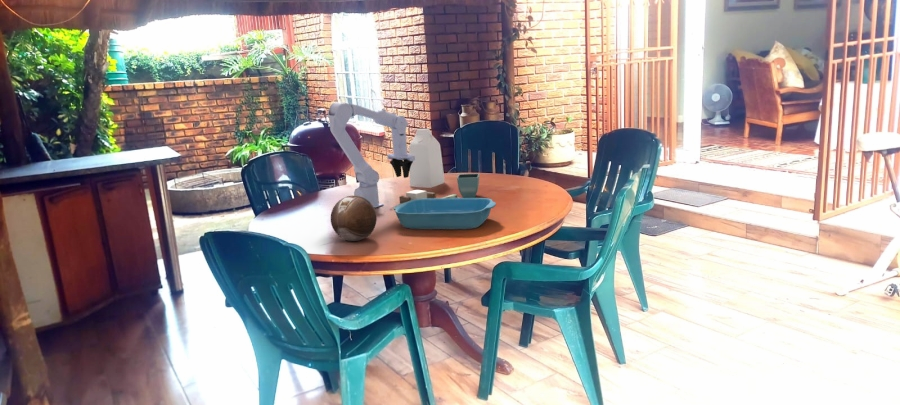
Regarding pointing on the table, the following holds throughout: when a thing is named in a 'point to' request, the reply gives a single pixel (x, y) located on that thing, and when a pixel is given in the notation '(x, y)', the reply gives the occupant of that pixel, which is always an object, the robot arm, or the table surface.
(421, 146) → the milk
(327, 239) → the table surface
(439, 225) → the casserole dish
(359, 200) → the wooden sphere
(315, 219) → the table surface
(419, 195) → the block
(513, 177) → the table surface
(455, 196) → the trap lane
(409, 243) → the table surface
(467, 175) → the flower pot
